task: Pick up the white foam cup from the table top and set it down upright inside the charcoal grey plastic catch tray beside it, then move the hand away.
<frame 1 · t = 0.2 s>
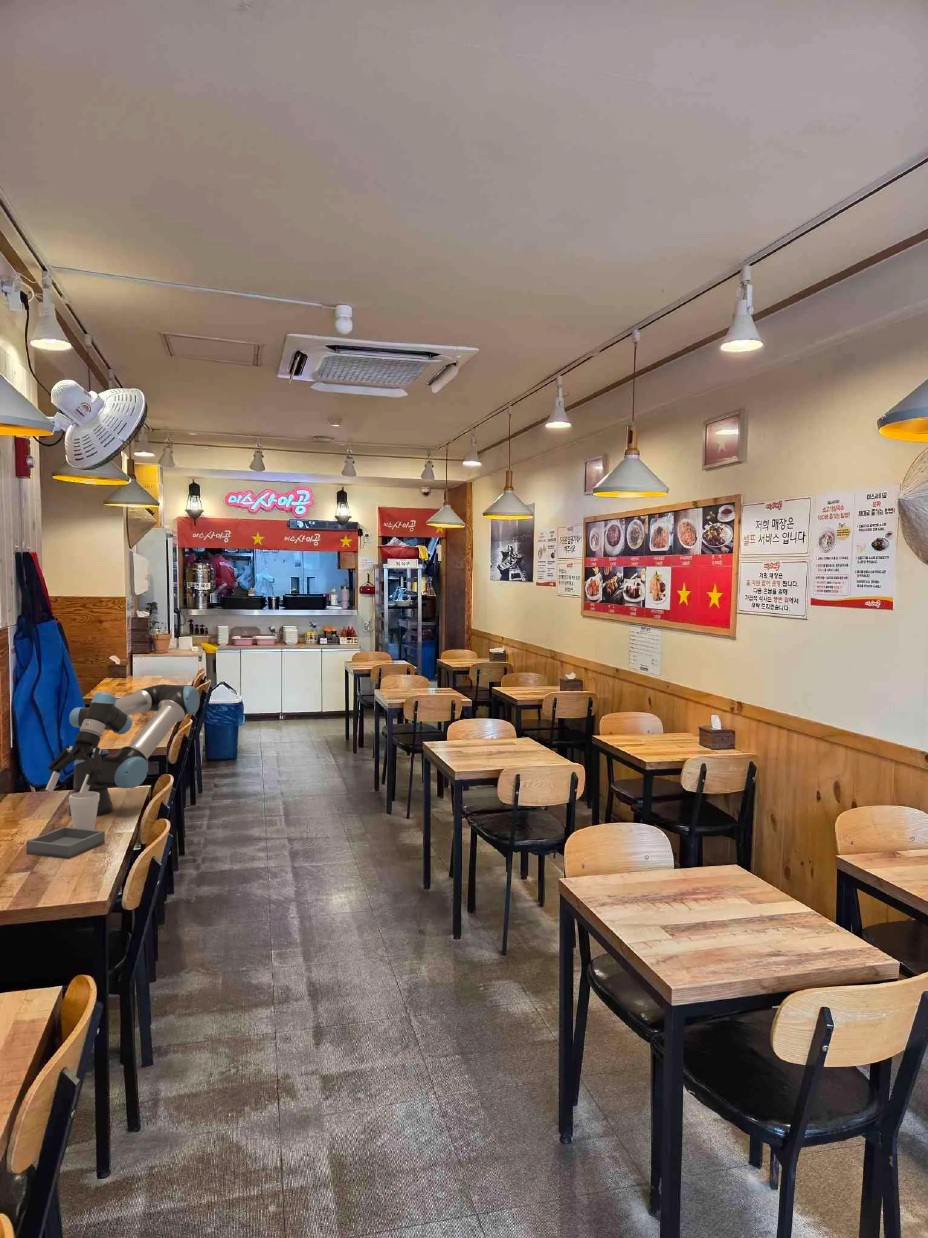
hand: (65, 792, 258), 15 cm above the table, tool tilted 30°, fingers open, 13 cm apart
catch tray: (66, 848, 248), on the table
foam cup: (83, 832, 265), on the table
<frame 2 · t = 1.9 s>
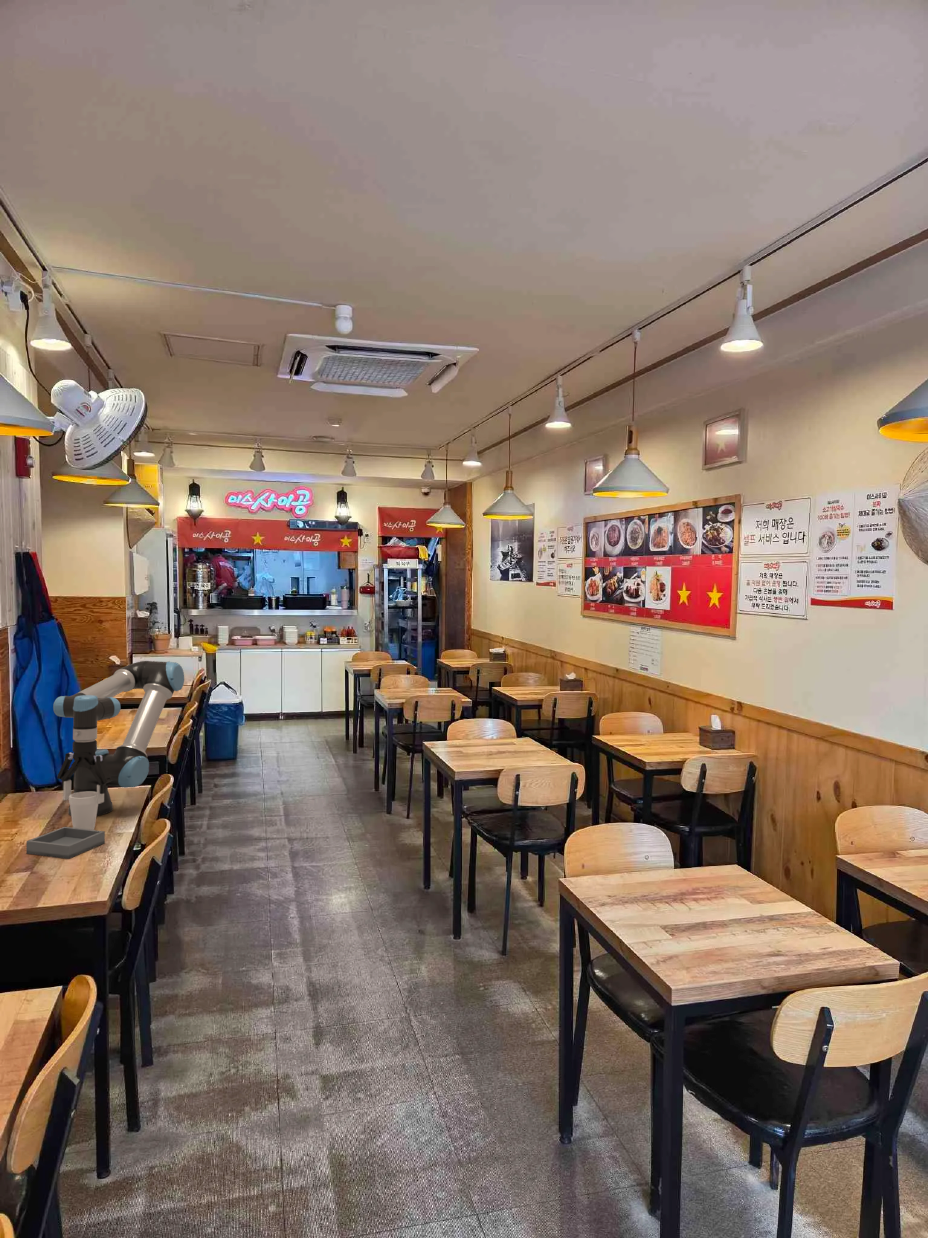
hand: (83, 801, 264), 11 cm above the table, tool pointing down, fingers open, 13 cm apart
nothing on the table moved.
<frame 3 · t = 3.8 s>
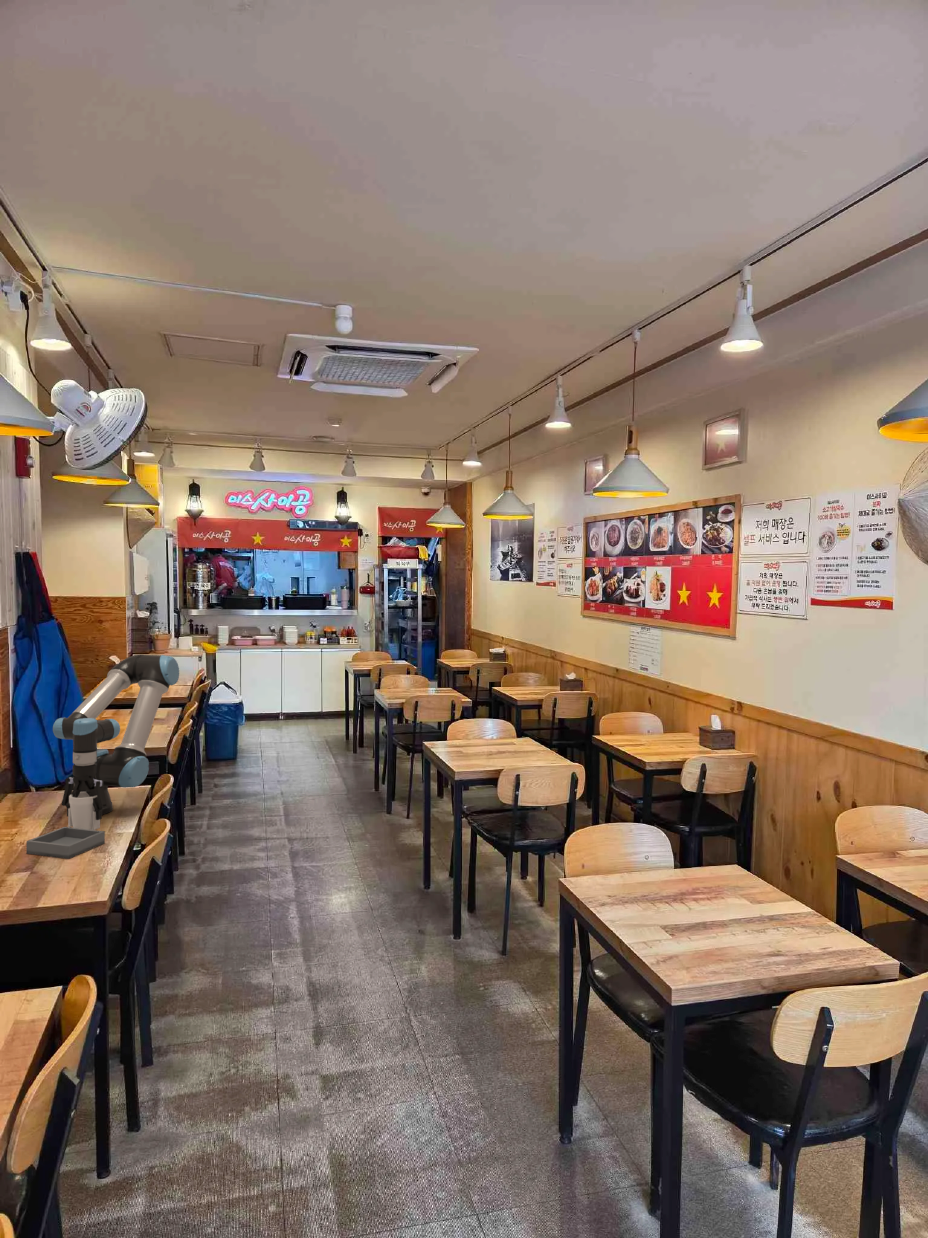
hand: (84, 827, 265), 2 cm above the table, tool pointing down, fingers closed on foam cup, 9 cm apart
foam cup: (84, 832, 265), on the table, touching gripper
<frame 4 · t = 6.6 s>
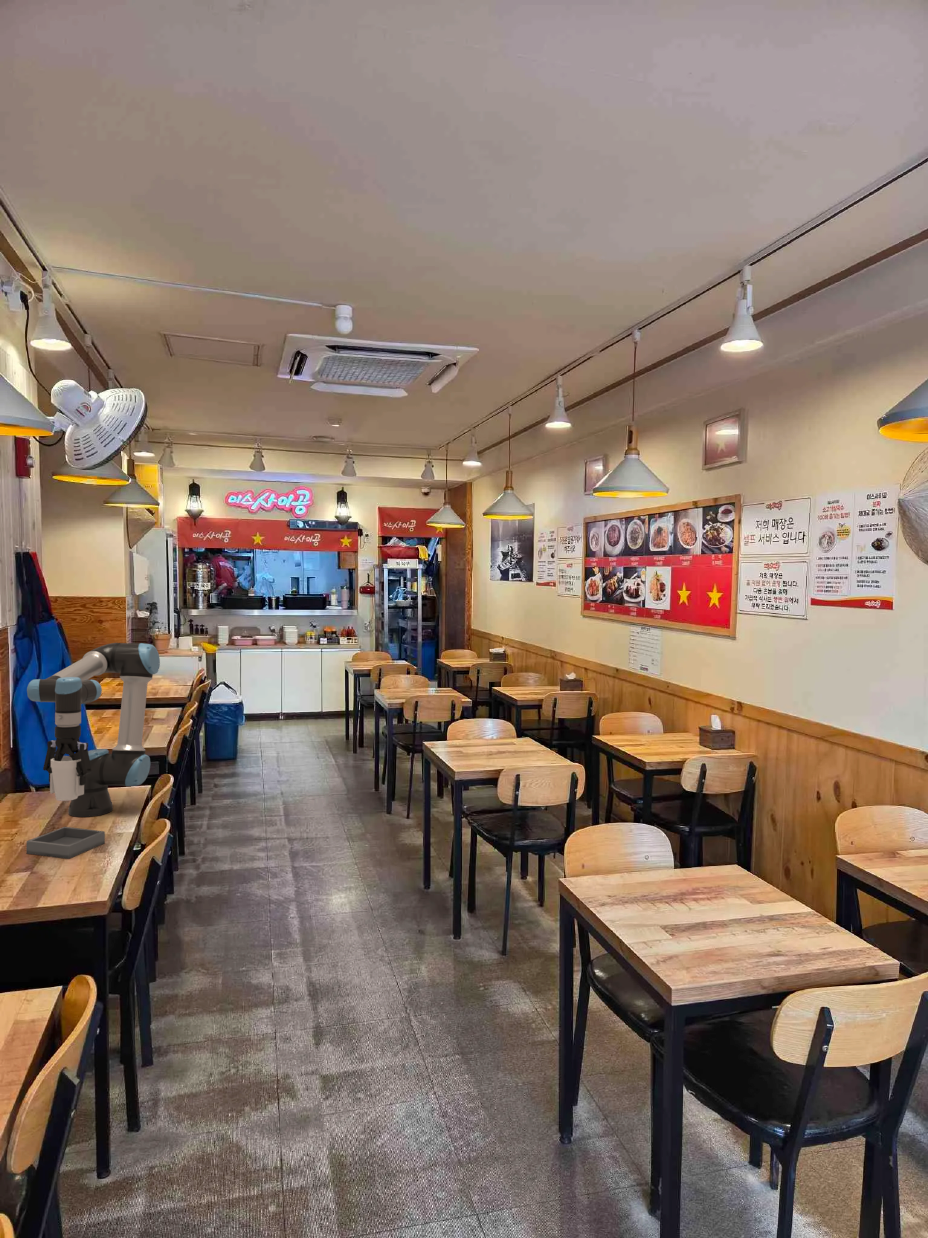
hand: (66, 793, 247), 18 cm above the table, tool pointing down, fingers closed on foam cup, 9 cm apart
foam cup: (66, 799, 247), point 16 cm above the table, touching gripper
when the fingers open (5 cm above the table, at t = 9.9 s): foam cup drops 2 cm, resting on catch tray.
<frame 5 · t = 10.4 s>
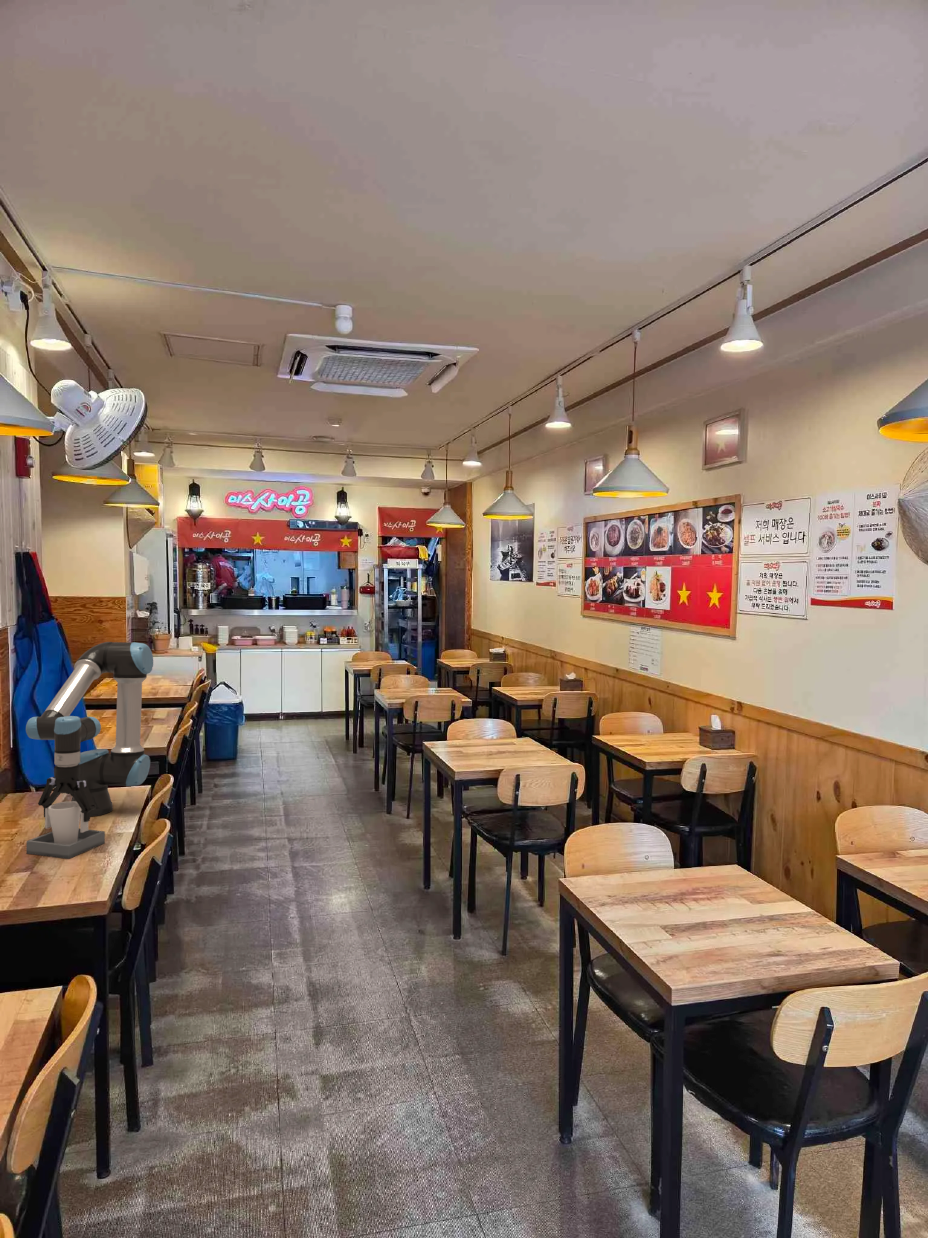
hand: (66, 829, 247), 6 cm above the table, tool pointing down, fingers open, 13 cm apart
foam cup: (66, 845, 248), point 1 cm above the table, touching catch tray
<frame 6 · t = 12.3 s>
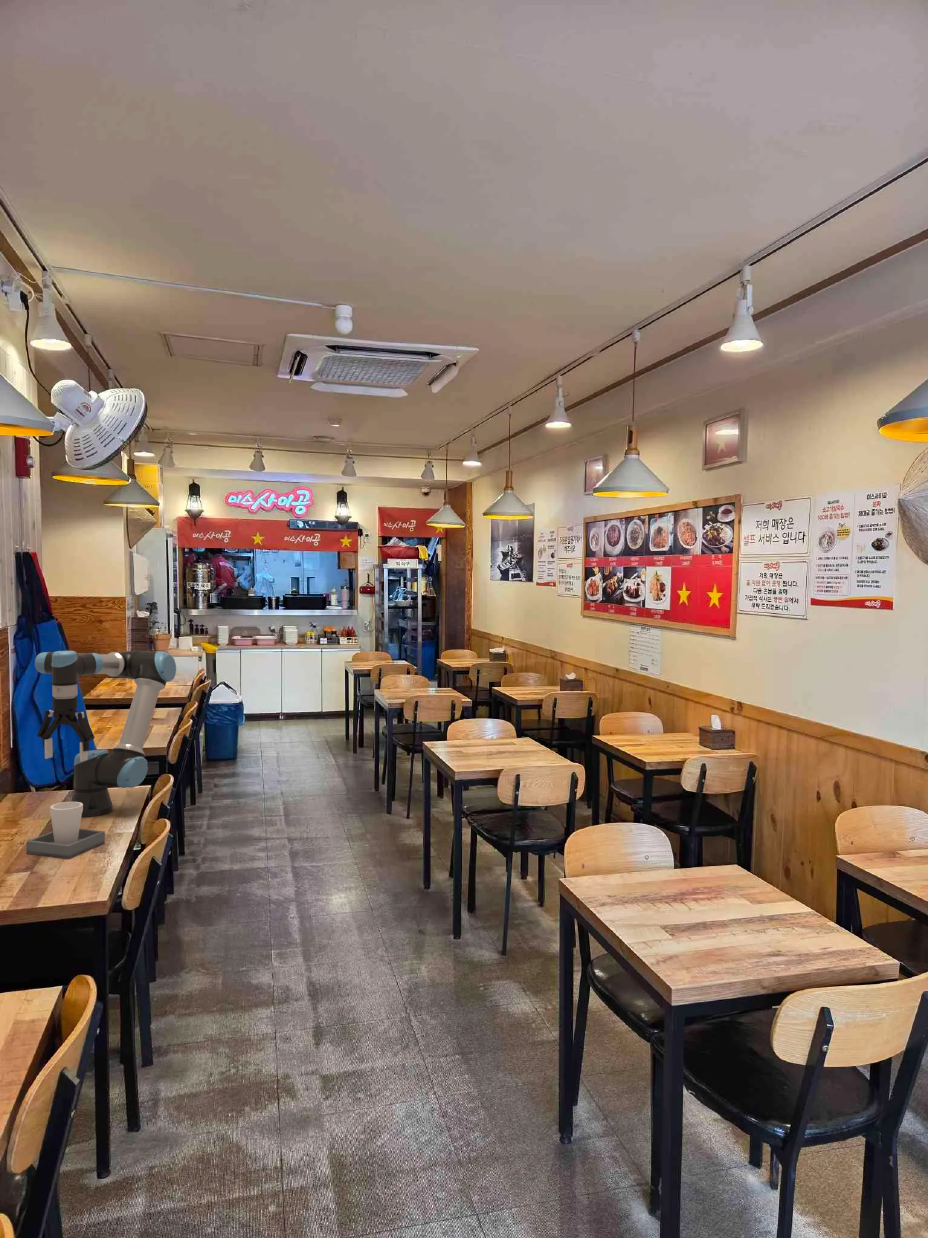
hand: (66, 759, 257), 27 cm above the table, tool pointing down, fingers open, 13 cm apart
nothing on the table moved.
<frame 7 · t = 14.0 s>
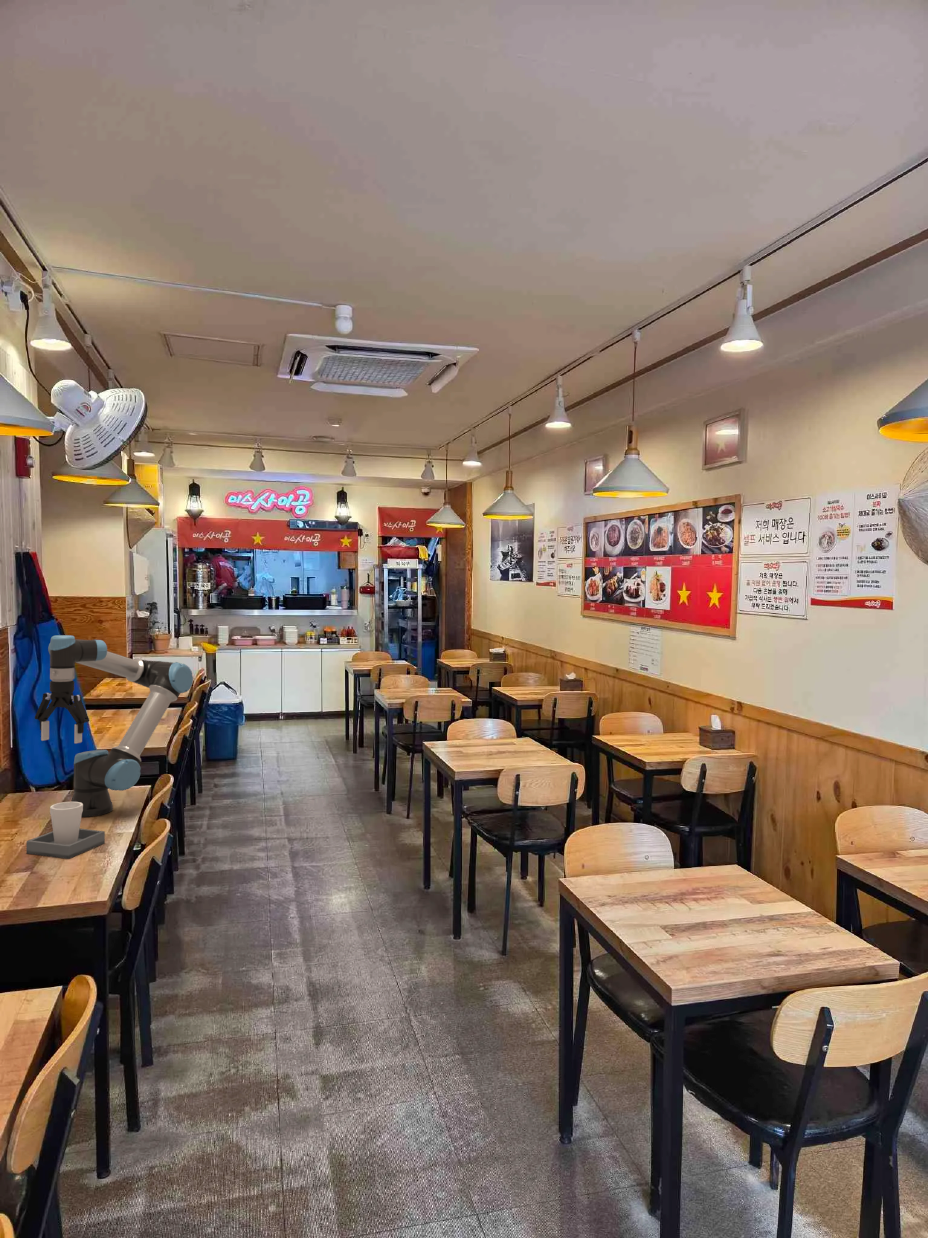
hand: (61, 741, 263), 32 cm above the table, tool pointing down, fingers open, 13 cm apart
nothing on the table moved.
at the end: foam cup inside the target area on the catch tray (0.2 cm from its centre), point 0.8 cm above the catch tray's base; foam cup tilted 0°; the gripper is holding nothing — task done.
